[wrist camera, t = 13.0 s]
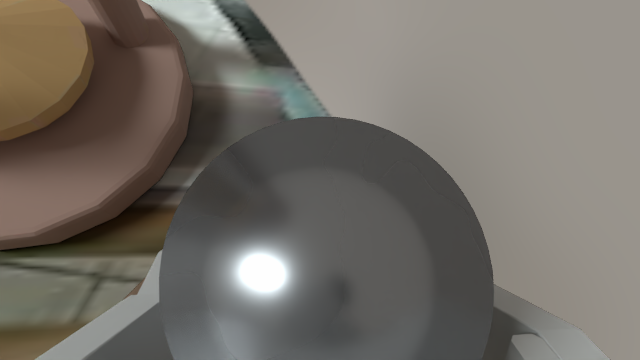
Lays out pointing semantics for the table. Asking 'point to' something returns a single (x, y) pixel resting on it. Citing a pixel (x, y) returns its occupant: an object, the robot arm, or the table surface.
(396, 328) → the steel peg
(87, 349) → the robot arm
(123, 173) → the hourglass
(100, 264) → the table surface
